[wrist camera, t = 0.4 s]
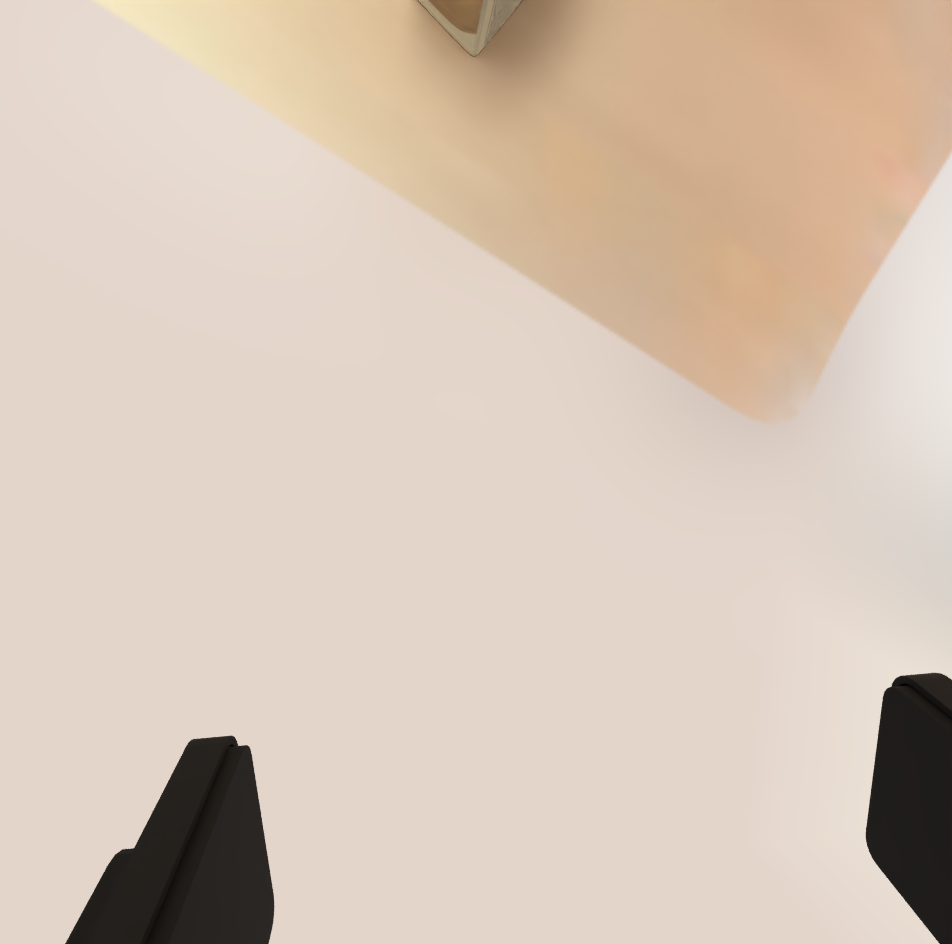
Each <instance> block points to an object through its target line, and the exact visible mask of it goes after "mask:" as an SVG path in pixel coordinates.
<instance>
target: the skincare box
mask: <svg viewBox="0 0 952 944" xmlns="http://www.w3.org/2000/svg"><path fill="white" fill-rule="evenodd" d="M521 1H522V0H419V2H420V3H421V4H422V5H423V6H424V7H425V8H426V9H427V10H428V12H429V13H430V14H431V15H432V16H433V17H434V18H435V19H436V20H437V21H438V22H439V23H440V24H441V25H442V26H443V27H444V28H445V29H446V31H447V32H448V33H449V34H450V35H451V36H452V37H453V38H454V39H455V40H456V41H457V42H458V43H459V44H460V45H461V46H462V47H463V48H464V49H465V50H466V51H467V52H468V53H469V54H470V55H472V56H476V55H478V54H479V53H480V51H481V50H482V49H483V48H484V47H485V46H486V44H487V43H488V42H489V41H490V40H491V39H492V37H493V36H494V35H495V34H496V32H497V31H498V30H499V29H500V27H501V26H502V25H503V24H504V23H505V21H506V20H507V19H508V18H509V16H510V15H511V14H512V13H513V11H514V10H515V9H516V7H517V6H518V5H519V4H520V2H521Z"/></svg>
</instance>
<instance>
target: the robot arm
mask: <svg viewBox="0 0 952 944" xmlns="http://www.w3.org/2000/svg"><path fill="white" fill-rule="evenodd" d="M866 842H867V846H868V849H869V852H870V854H871V856H872V858H873V860H874V861H875V863H876V864H877V865H878V867H879V868H880V869H881V871H882V872H883V873H884V874H885V875H886V877H887V878H888V879H889V881H890V882H891V883H892V884H893V886H894V887H895V888H896V889H897V890H898V892H899V893H900V894H901V896H902V897H903V898H904V899H905V901H906V902H907V903H908V904H909V906H910V907H911V908H912V909H913V911H914V912H915V913H916V914H917V916H918V917H919V918H920V920H921V921H922V922H923V923H924V925H925V926H926V927H927V928H928V929H929V931H930V932H931V933H932V935H933V936H934V937H935V938H936V940H937V941H938V942H939V943H940V944H952V680H951V679H950V678H948V677H947V676H945V675H943V674H940V673H928V674H917V675H906V676H900V677H897V678H896V679H895V680H894V682H893V683H892V687H890V688H887V689H886V691H885V692H884V696H883V702H882V710H881V718H880V725H879V733H878V741H877V749H876V757H875V765H874V772H873V781H872V788H871V796H870V804H869V812H868V820H867V827H866ZM273 917H274V895H273V889H272V882H271V876H270V869H269V863H268V856H267V850H266V844H265V837H264V831H263V825H262V818H261V812H260V805H259V799H258V792H257V786H256V780H255V773H254V767H253V761H252V754H251V750H250V748H249V746H247V745H244V746H238V744H237V741H236V739H235V737H233V736H224V737H212V738H201V739H193V740H191V741H190V742H189V743H188V745H187V746H186V748H185V750H184V752H183V754H182V756H181V758H180V760H179V762H178V764H177V766H176V768H175V770H174V772H173V773H172V775H171V777H170V780H169V781H168V783H167V785H166V787H165V789H164V791H163V793H162V795H161V797H160V799H159V801H158V803H157V805H156V807H155V809H154V811H153V813H152V815H151V817H150V818H149V820H148V822H147V824H146V826H145V828H144V830H143V832H142V834H141V836H140V838H139V840H138V842H137V844H136V846H135V848H133V849H123V850H121V851H120V852H118V853H117V854H116V855H115V856H114V857H113V859H112V860H111V862H110V863H109V864H108V866H107V868H106V870H105V872H104V873H103V875H102V877H101V879H100V881H99V883H98V884H97V886H96V888H95V890H94V892H93V894H92V896H91V897H90V899H89V901H88V903H87V905H86V907H85V908H84V910H83V912H82V914H81V916H80V918H79V920H78V921H77V923H76V925H75V927H74V929H73V931H72V932H71V934H70V936H69V938H68V940H67V942H66V943H65V944H268V943H269V939H270V934H271V930H272V925H273Z"/></svg>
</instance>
